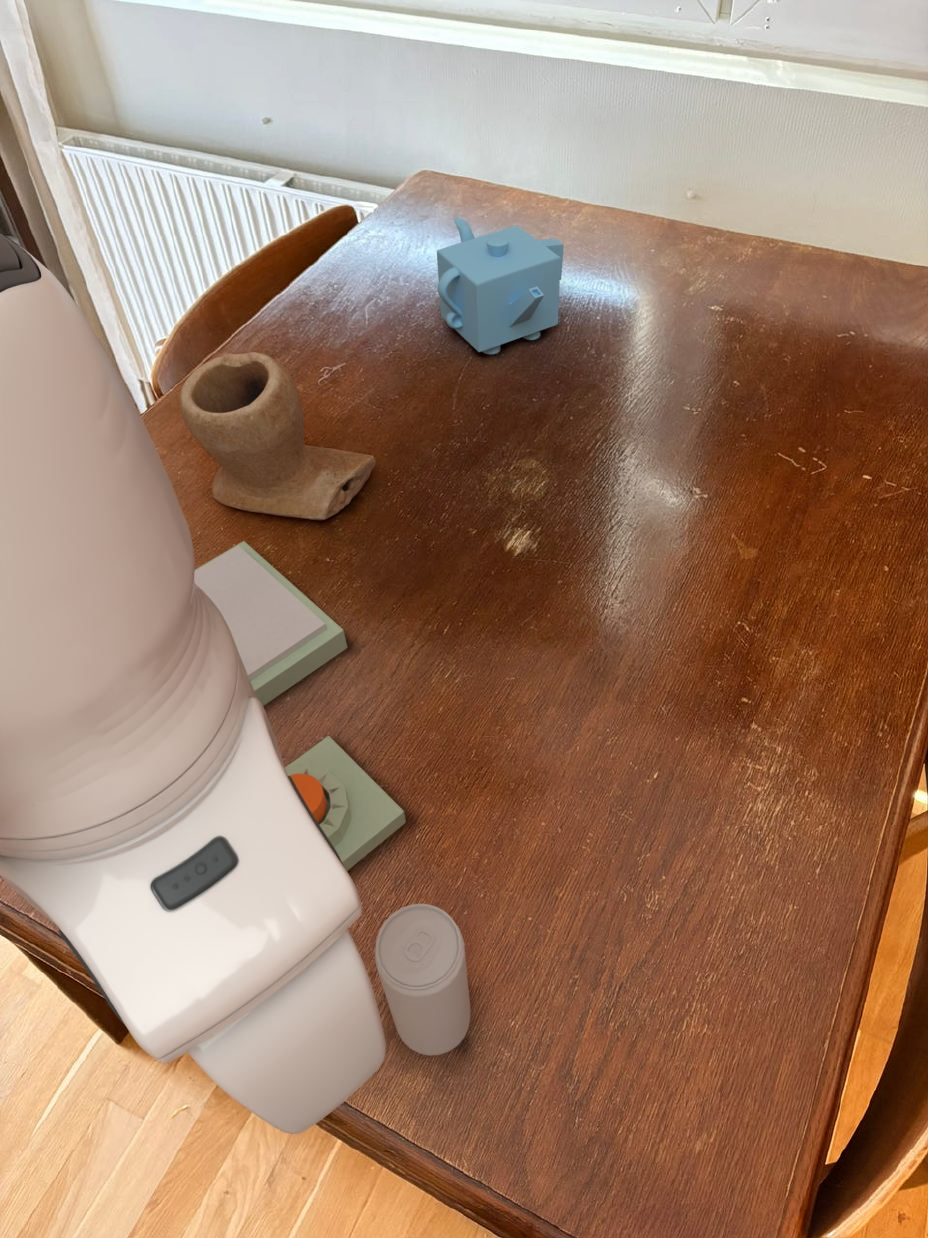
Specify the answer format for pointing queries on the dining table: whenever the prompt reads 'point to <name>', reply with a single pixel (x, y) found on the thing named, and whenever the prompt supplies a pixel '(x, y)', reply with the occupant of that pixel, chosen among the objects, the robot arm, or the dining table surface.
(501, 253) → the teapot
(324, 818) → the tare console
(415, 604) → the dining table surface
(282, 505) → the tan stone pipe
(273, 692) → the scale
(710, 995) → the dining table surface
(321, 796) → the button
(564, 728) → the dining table surface
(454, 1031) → the beverage can
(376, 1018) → the robot arm
